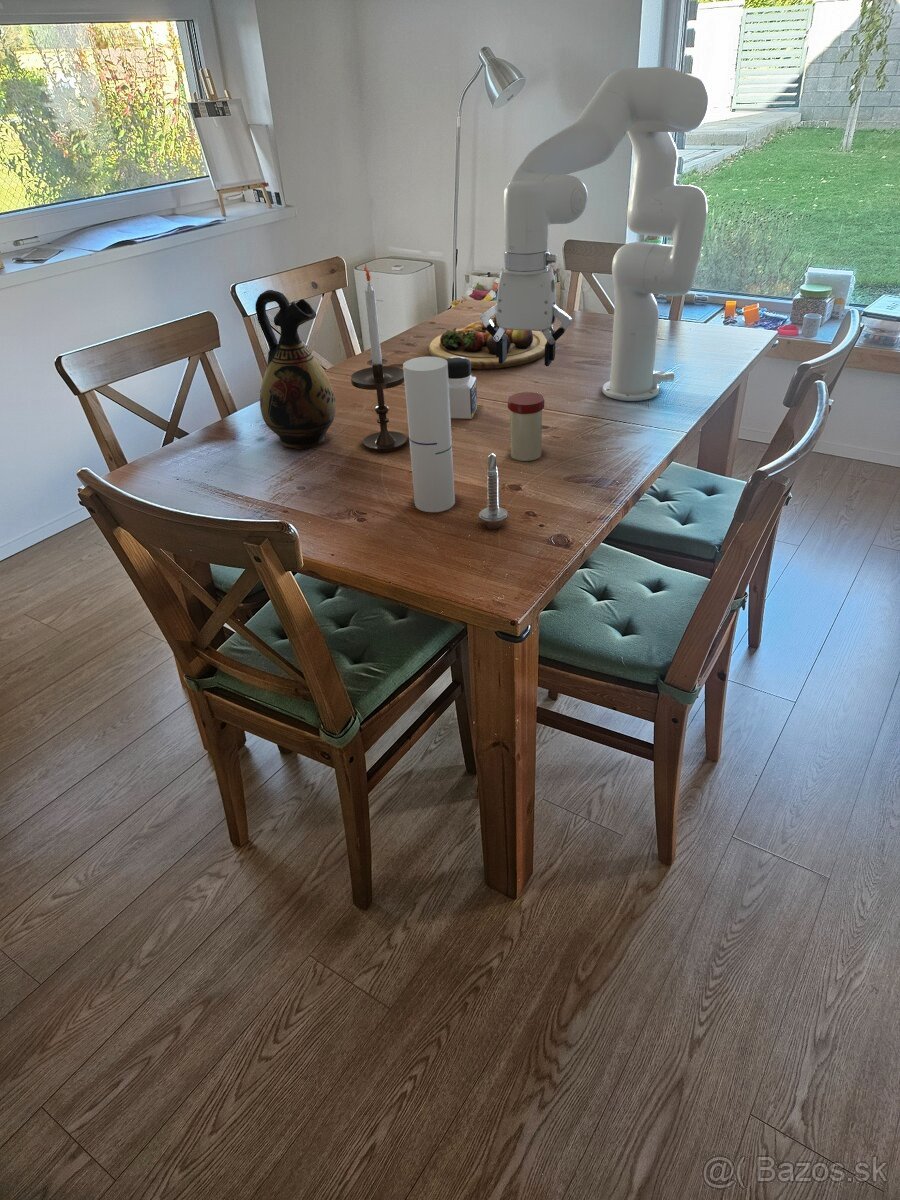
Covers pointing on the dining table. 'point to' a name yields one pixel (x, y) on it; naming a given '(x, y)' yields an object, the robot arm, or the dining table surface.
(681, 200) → the robot arm
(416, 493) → the cylindrical container
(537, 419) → the jar
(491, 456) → the screw
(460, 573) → the dining table surface
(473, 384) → the medicine bottle
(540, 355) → the wooden plate
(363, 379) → the candlestick
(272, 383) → the ceramic jug
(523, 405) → the lid
